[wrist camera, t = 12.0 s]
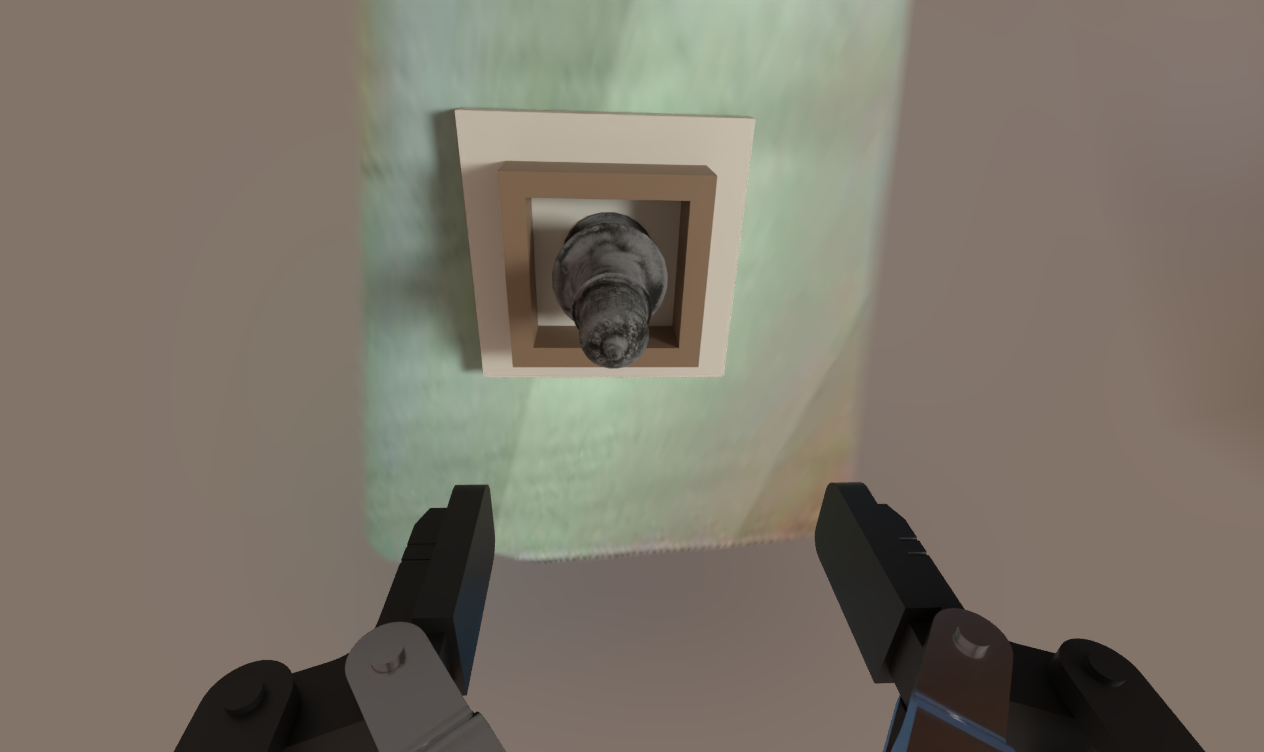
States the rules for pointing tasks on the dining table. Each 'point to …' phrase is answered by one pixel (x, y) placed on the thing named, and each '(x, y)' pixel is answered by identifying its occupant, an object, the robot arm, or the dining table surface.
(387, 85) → the dining table surface
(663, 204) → the shaker stand
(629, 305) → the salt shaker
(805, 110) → the dining table surface
